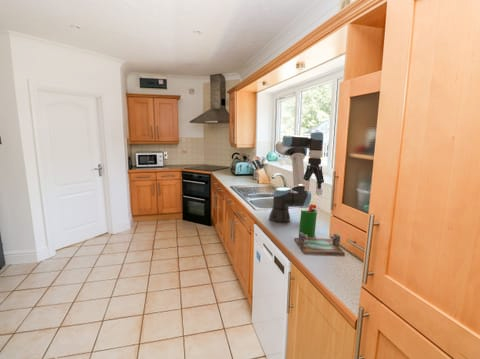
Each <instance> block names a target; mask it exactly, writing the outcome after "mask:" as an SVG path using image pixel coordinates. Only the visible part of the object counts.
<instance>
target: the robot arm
mask: <svg viewBox="0 0 480 359" xmlns="http://www.w3.org/2000/svg"><path fill="white" fill-rule="evenodd" d="M309 135H310V136H307V135H290V134H288V135H287V134H285V135H283V136H282V140H280V141H278V142H276V144H275V151H276V152H277V153H278V154H280V155H281V156H285V157H289V159H290V160H291V166H292V182H293V187H292V188H290V187H287V186H286V187H284V186H283V187H276V188H275V189H274V190H273V195H272V197H273V198H272V208H271V211H270V213H269V217H268V219H269V220H270V221H271V222H275V223H278V224H279V223H280V224H283V223H285V224H286V223H290V221H291V215H290V211H289V208H290V207H297V208H308V207H310V205H311V200H312V191H310V179H311V178H312V175H313V174H314V176H315V179H316V184H315V195H321V191H322V190H321V189H322V184H323V183H325V180H324V179H325V178H324V172H323V166H321V164H322V159H321V158H322V157H323V144H324V143H323V142H324V133H323V132H321V131H312V132H310V134H309ZM308 150H309V151H308ZM307 155H308V160H307V163H308V164H307V165H306V169H305V165H304V164H305V163H304V159H305V157H306V156H307Z"/></svg>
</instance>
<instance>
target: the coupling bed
mask: <svg viewBox="0 0 480 359" xmlns="http://www.w3.org/2000/svg"><path fill="white" fill-rule="evenodd" d="M294 242H295V243H296V244H297V246H298V248H299V249H300V251H301V252H302V253H303V255H326V256H328V255H329V256H331V255H332V256H345V254H346V253H345V251H344V250H343V249H342V248H341V247H340V242H341V236H340V235H339V234H338V233H333V235H331V236H330V238H324V237H323V238H322V237H321V238H320V237H316V238H314V237H313V238H312V237H308V236H307V235H304V234H303V233H301V232H298V237H294Z"/></svg>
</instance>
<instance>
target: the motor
mask: <svg viewBox="0 0 480 359" xmlns="http://www.w3.org/2000/svg"><path fill="white" fill-rule="evenodd" d="M316 208H317V204H314V203H312V204H311V203H310V204H309V206H308V210H303V209H302V210H301V211H300V218H299V220H300V221H299V232H301V233H303V234H304V235H307V236H308V238H312V237H313V238H314V237H315V235H316V226H317V224H316V223H317V215H318V211H317V209H316ZM299 232H298V233H299Z"/></svg>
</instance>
